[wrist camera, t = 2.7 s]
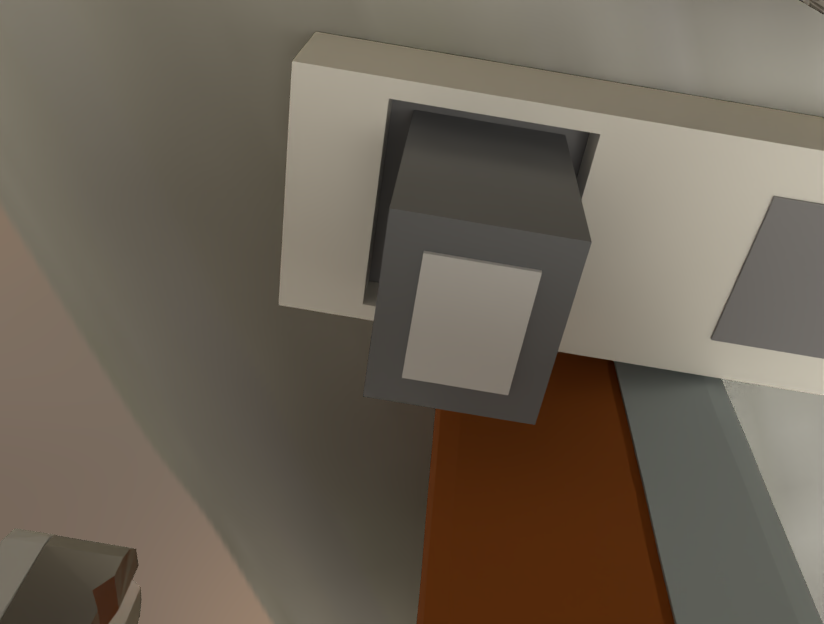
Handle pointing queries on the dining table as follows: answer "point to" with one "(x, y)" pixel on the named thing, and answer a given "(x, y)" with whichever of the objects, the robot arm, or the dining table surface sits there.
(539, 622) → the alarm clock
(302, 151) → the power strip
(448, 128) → the block
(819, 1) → the planter
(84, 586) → the robot arm
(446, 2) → the dining table surface
